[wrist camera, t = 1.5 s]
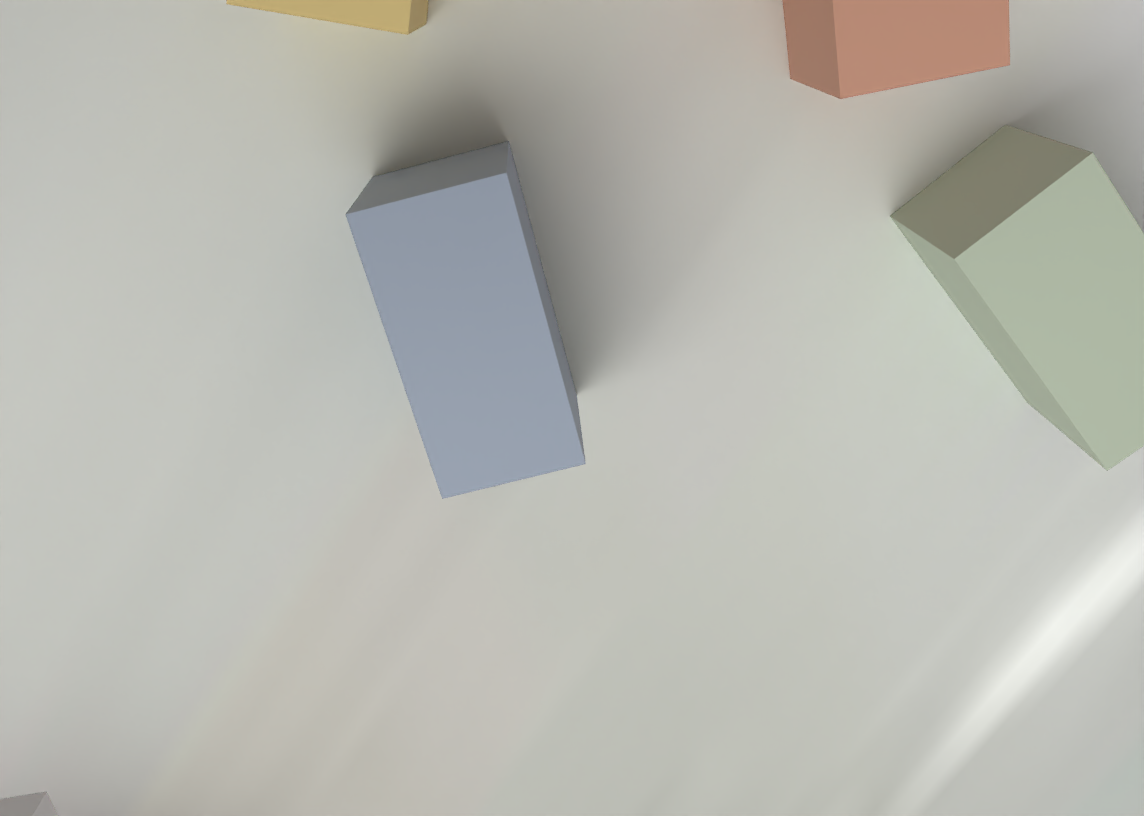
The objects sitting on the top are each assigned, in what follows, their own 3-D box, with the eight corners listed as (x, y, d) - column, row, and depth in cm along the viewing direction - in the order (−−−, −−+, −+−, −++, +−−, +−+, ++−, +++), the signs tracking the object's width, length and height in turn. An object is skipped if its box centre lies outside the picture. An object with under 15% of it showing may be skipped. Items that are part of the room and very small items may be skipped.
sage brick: (888, 215, 30) (953, 258, 26) (1003, 124, 29) (1092, 152, 25) (1025, 400, 33) (1107, 470, 28) (1135, 322, 32) (1237, 381, 27)
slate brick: (373, 176, 29) (345, 214, 25) (508, 140, 29) (506, 172, 24) (453, 423, 32) (442, 498, 28) (576, 393, 32) (585, 463, 28)
